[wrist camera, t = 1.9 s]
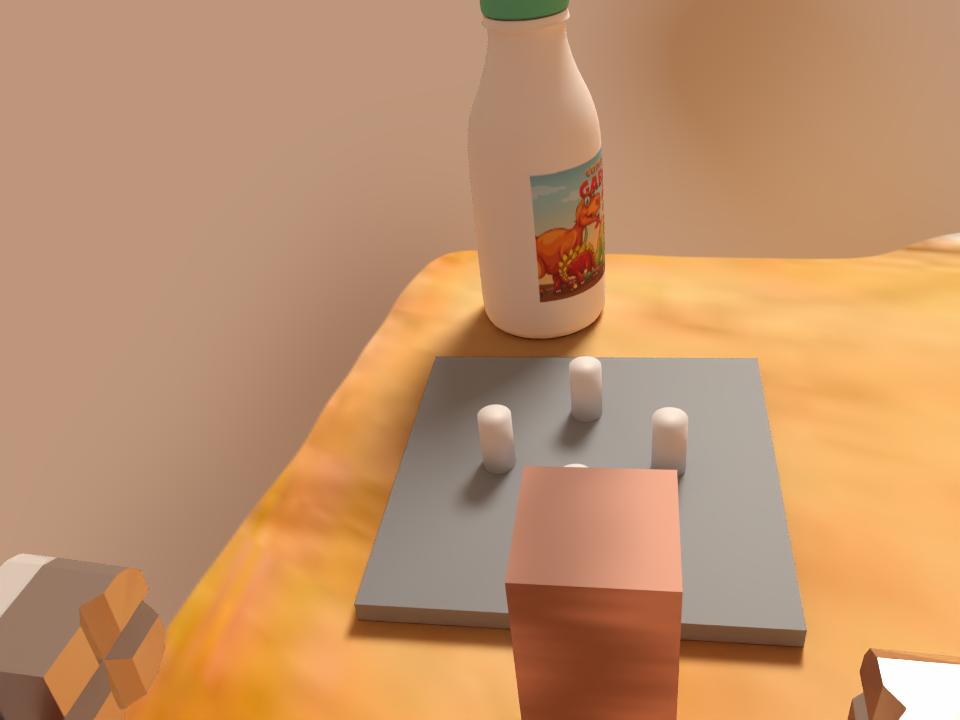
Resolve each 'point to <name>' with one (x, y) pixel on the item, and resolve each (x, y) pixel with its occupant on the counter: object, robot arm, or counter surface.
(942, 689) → the robot arm
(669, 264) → the counter surface
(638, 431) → the peg plate
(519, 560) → the terracotta post
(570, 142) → the milk bottle
